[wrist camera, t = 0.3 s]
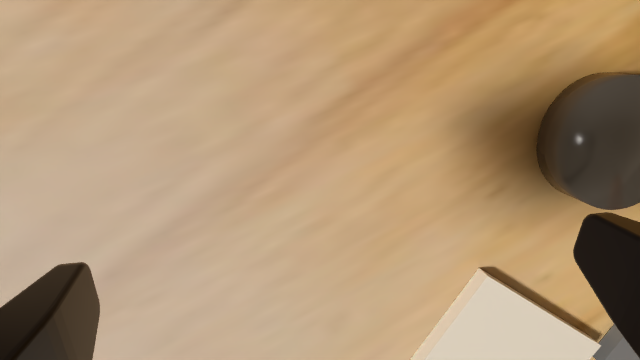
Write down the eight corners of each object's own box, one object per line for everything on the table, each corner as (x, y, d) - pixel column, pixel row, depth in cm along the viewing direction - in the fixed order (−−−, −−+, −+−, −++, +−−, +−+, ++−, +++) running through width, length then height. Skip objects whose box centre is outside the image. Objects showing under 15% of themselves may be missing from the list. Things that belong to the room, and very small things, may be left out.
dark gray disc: (711, 110, 24) (668, 104, 26) (615, 50, 22) (578, 50, 24) (637, 227, 25) (602, 212, 27) (540, 180, 23) (512, 168, 25)
